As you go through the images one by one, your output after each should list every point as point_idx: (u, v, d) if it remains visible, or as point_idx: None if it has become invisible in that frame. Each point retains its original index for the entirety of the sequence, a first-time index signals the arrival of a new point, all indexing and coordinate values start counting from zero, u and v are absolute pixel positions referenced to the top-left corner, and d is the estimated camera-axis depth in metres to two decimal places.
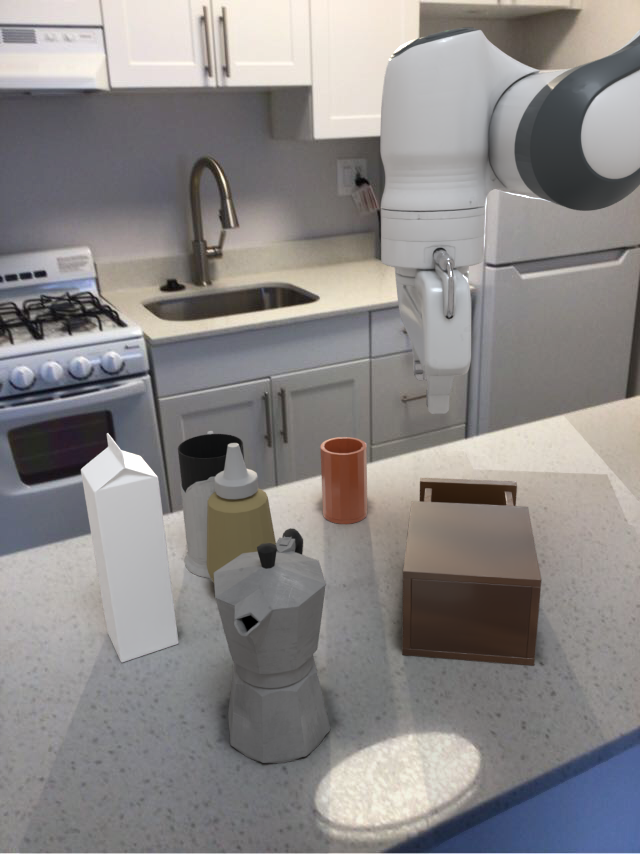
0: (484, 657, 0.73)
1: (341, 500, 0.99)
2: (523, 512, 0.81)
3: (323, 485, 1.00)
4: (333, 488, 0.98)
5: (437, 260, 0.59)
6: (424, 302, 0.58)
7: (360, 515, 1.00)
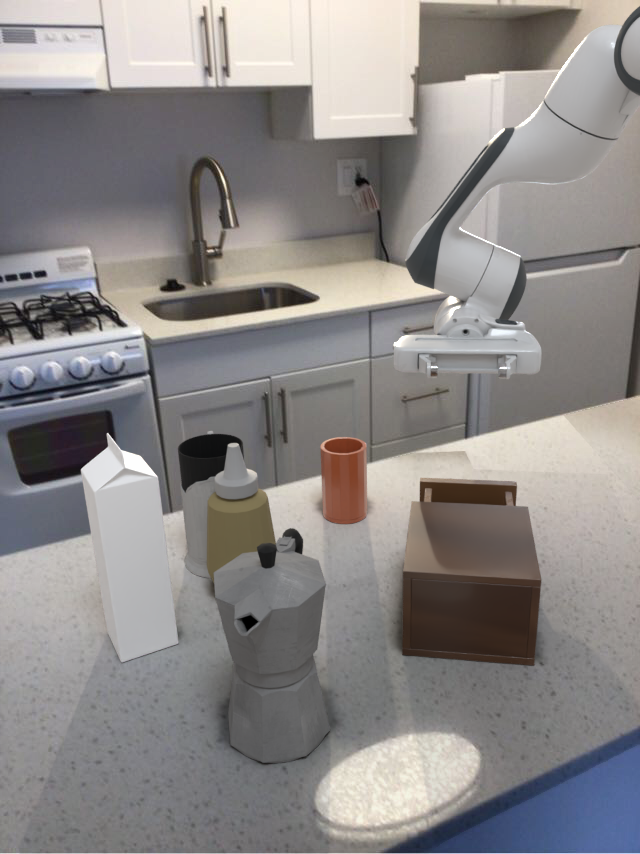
0: (484, 657, 0.73)
1: (341, 500, 0.99)
2: (523, 512, 0.81)
3: (323, 485, 1.00)
4: (333, 488, 0.98)
5: None
6: None
7: (360, 515, 1.00)
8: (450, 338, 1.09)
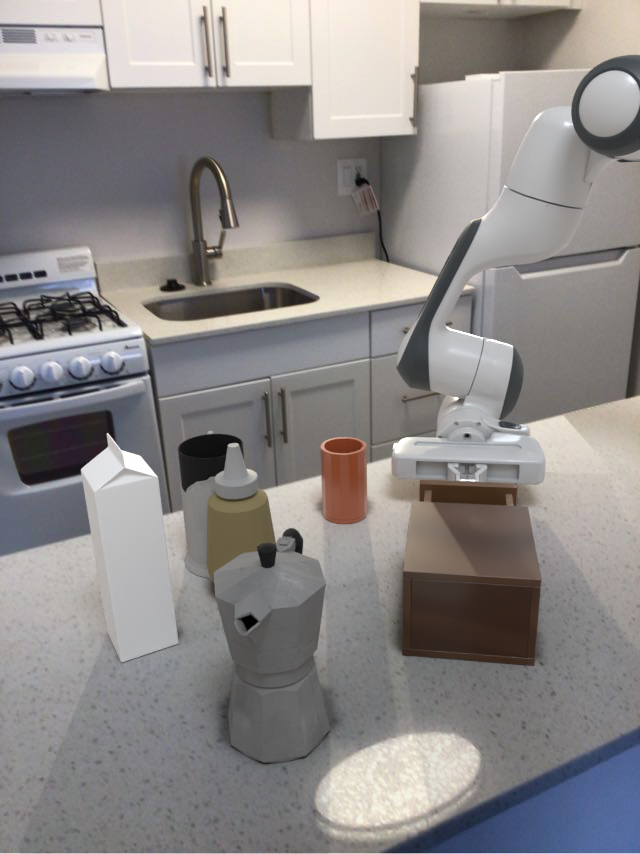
0: (484, 657, 0.73)
1: (341, 500, 0.99)
2: (523, 512, 0.81)
3: (323, 485, 1.00)
4: (333, 488, 0.98)
5: None
6: None
7: (360, 515, 1.00)
8: (451, 442, 1.05)
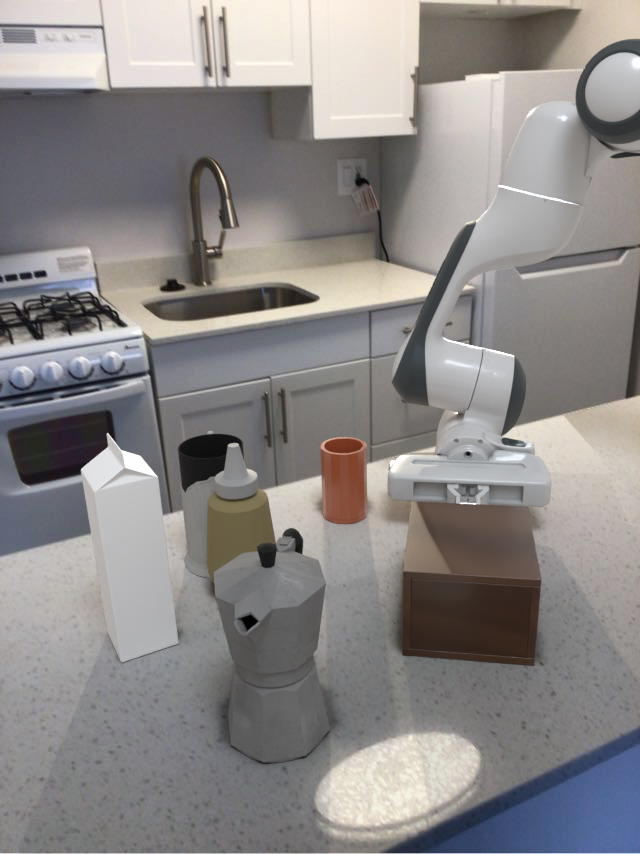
0: (484, 657, 0.73)
1: (341, 500, 0.99)
2: (523, 512, 0.81)
3: (323, 485, 1.00)
4: (333, 488, 0.98)
5: None
6: None
7: (360, 515, 1.00)
8: (451, 461, 0.99)
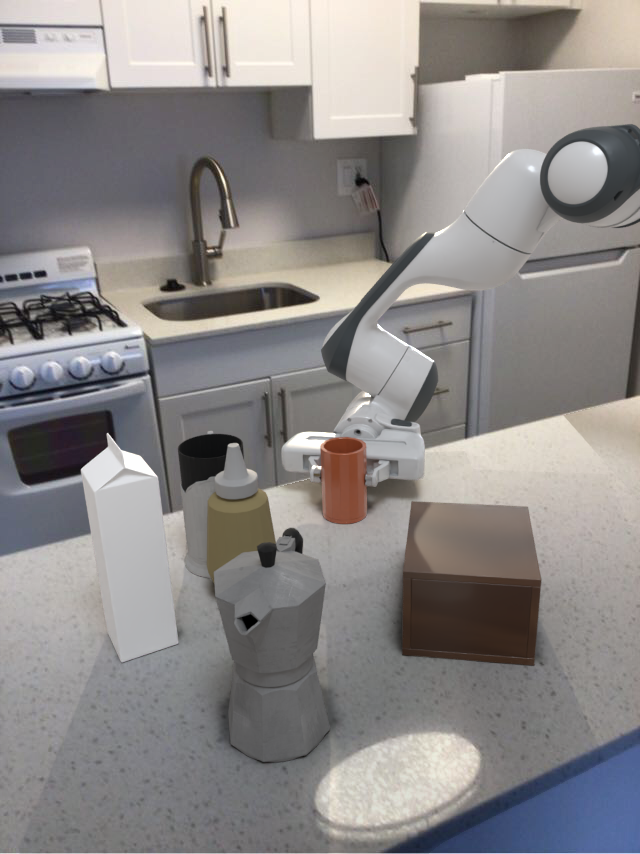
0: (484, 657, 0.73)
1: (341, 500, 0.99)
2: (523, 512, 0.81)
3: (323, 485, 1.00)
4: (333, 488, 0.98)
5: None
6: None
7: (360, 515, 1.00)
8: None
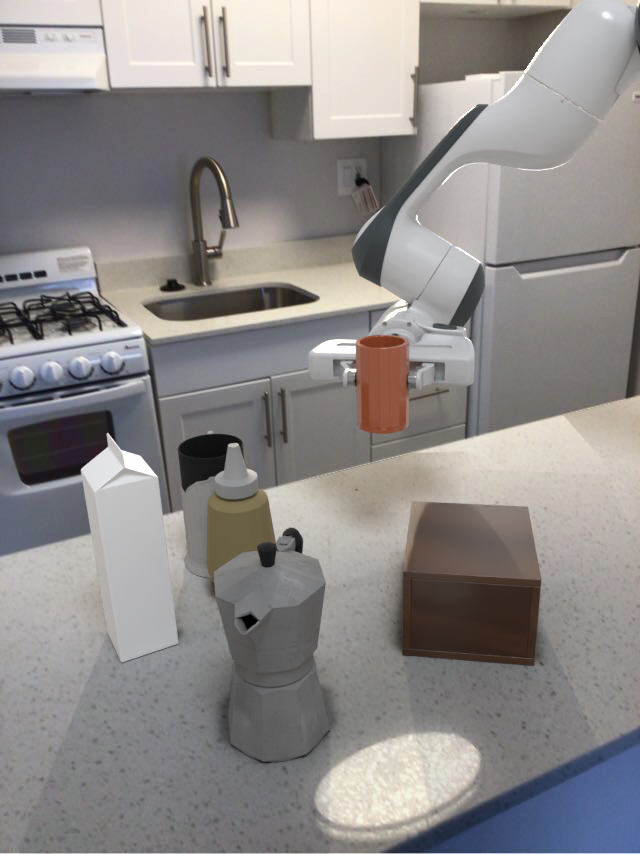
0: (484, 657, 0.73)
1: (380, 405, 0.85)
2: (523, 512, 0.81)
3: (358, 389, 0.86)
4: (371, 390, 0.84)
5: None
6: None
7: (401, 424, 0.86)
8: None
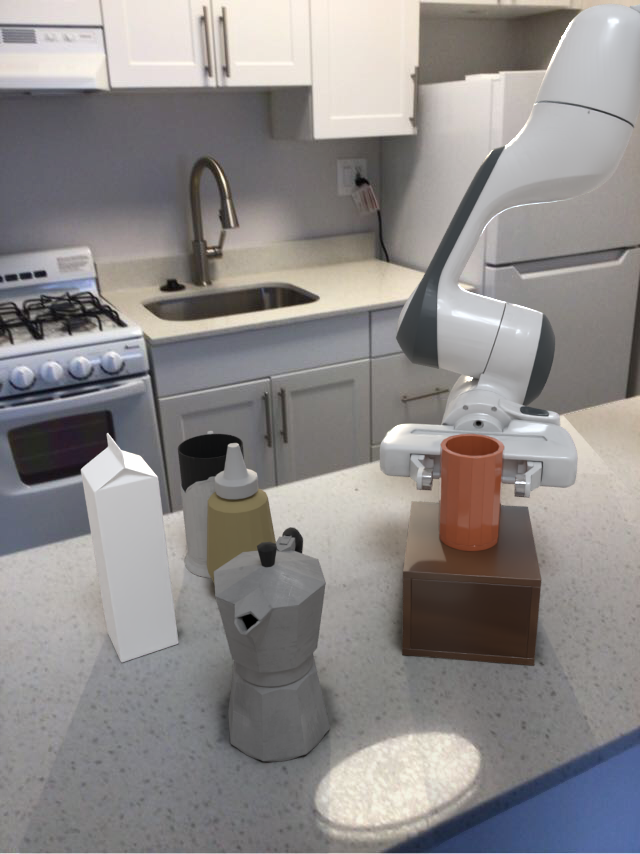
0: (484, 657, 0.73)
1: (470, 519, 0.73)
2: (523, 512, 0.81)
3: (444, 499, 0.74)
4: (460, 503, 0.72)
5: None
6: None
7: (493, 539, 0.74)
8: (458, 431, 0.83)
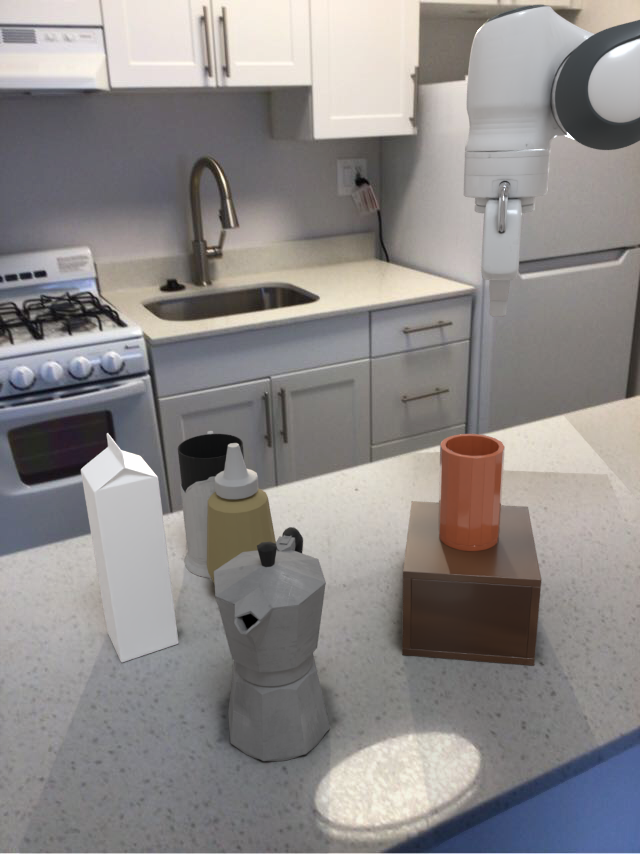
0: (484, 657, 0.73)
1: (470, 519, 0.73)
2: (523, 512, 0.81)
3: (444, 499, 0.74)
4: (460, 503, 0.72)
5: None
6: (484, 220, 0.75)
7: (493, 539, 0.74)
8: None
